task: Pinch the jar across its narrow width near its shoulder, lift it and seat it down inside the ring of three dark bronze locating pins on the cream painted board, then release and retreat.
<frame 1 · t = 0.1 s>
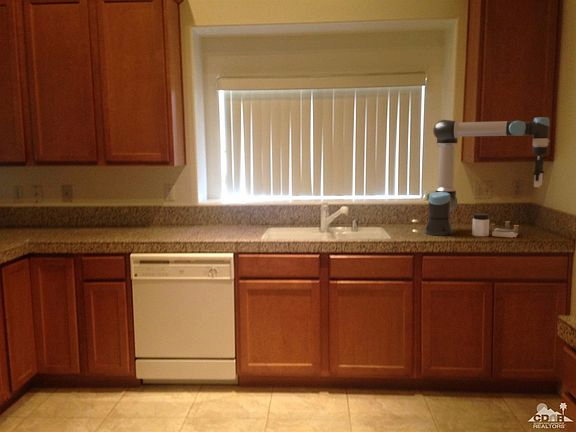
hand: (537, 186, 273), 28 cm above the worktop, fingers open, 13 cm apart
cradle board: (505, 235, 284), on the worktop
jar: (480, 235, 284), on the worktop
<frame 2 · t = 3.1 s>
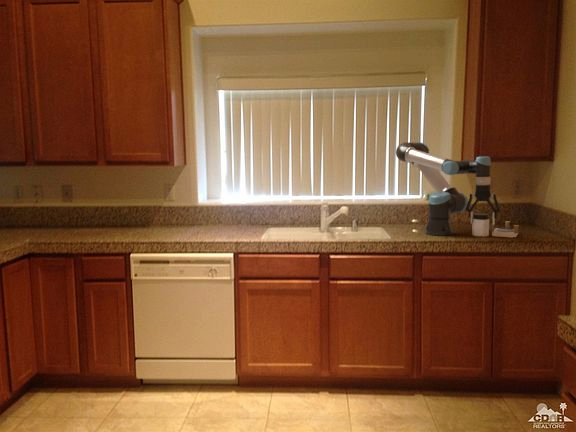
hand: (482, 223, 282), 7 cm above the worktop, fingers open, 11 cm apart
nothing on the worktop moved.
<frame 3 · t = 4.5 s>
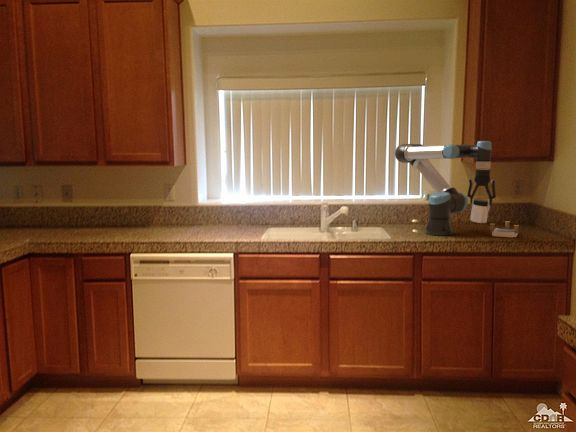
hand: (480, 210, 282), 14 cm above the worktop, fingers closed on jar, 7 cm apart
jar: (478, 221, 284), point 8 cm above the worktop, touching gripper
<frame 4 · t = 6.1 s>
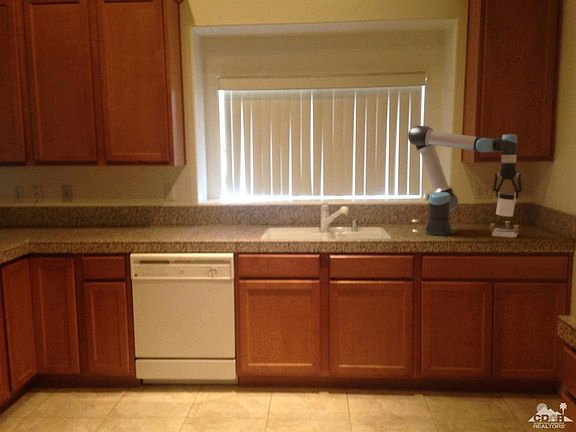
hand: (506, 203, 281), 18 cm above the worktop, fingers closed on jar, 7 cm apart
jar: (504, 215, 283), point 11 cm above the worktop, touching gripper
when the fingers open (10 cm above the worktop, at t = 7.8 s): jar stays where it is, resting on cradle board.
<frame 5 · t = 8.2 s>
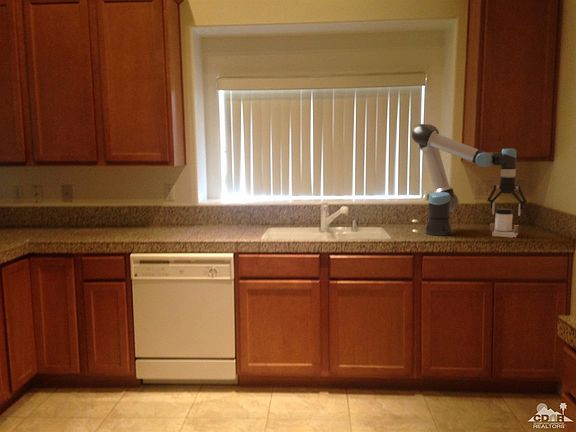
hand: (506, 214, 282), 11 cm above the worktop, fingers open, 13 cm apart
jar: (503, 230, 284), point 3 cm above the worktop, touching cradle board
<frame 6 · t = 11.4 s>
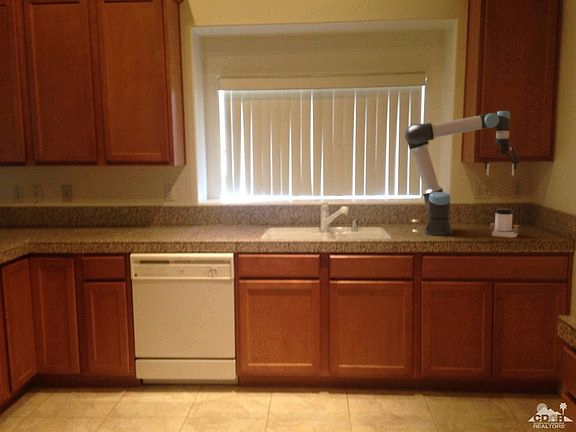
hand: (500, 175, 294), 33 cm above the worktop, fingers open, 13 cm apart
nothing on the worktop moved.
at the end: jar 1.1 cm from the cradle board (horizontally); jar touching cradle board; jar tilted 0° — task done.
